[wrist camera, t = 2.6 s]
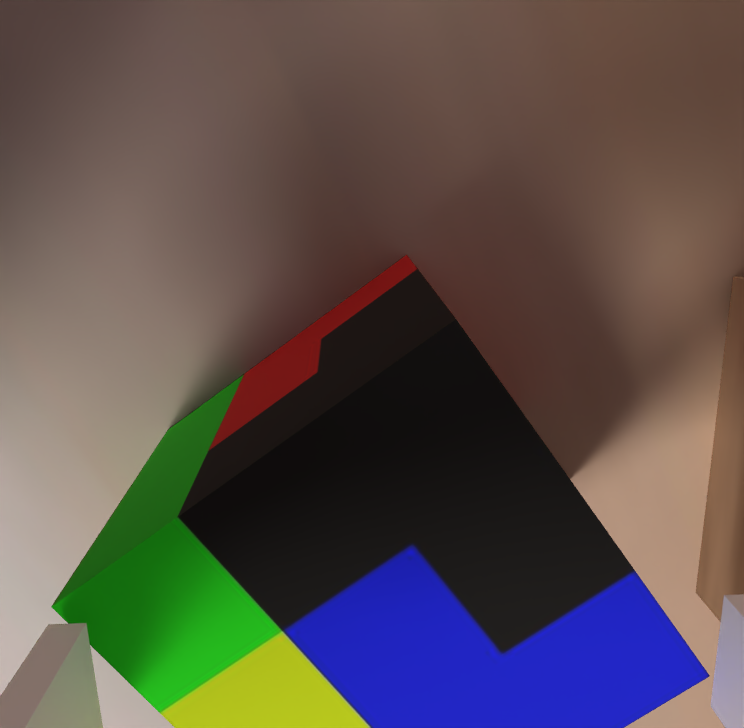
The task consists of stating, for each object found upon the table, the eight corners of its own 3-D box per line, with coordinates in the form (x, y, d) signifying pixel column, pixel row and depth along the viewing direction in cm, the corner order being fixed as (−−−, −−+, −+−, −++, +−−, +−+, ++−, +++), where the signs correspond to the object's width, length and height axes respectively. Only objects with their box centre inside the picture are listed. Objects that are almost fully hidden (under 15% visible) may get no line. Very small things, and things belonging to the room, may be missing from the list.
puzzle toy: (567, 480, 25) (709, 675, 15) (343, 628, 26) (345, 894, 17) (406, 254, 22) (455, 319, 13) (168, 429, 24) (51, 607, 14)
